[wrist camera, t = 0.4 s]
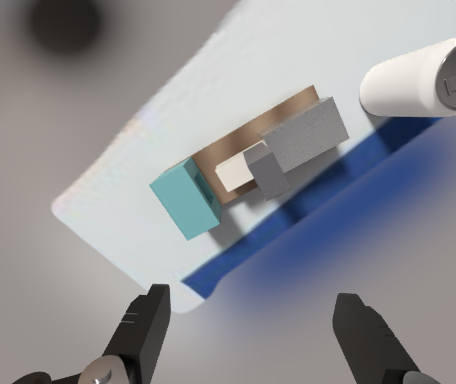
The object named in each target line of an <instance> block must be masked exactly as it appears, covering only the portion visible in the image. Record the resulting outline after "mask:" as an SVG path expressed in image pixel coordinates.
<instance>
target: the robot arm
mask: <svg viewBox="0 0 456 384" xmlns="http://www.w3.org/2000/svg"><path fill="white" fill-rule="evenodd" d="M170 313H171V306H170V288H169V285H168V284H152V286H151V288H150V290H149V292H148V294H147V295H139V296H138V297H137V298H136V299H135V300H134V301H133V302H131V304H130V306H129V307H128V309H127V311H126V314H125V315H124V316H123V318H122V320H121V323H120V324H119V326H118V328H117V329H116V331H115V333H114V335H113V337H112V338H111V340H110V342H109V344H108V346H107V348H106V349H105V351H104V353H103V355H102V356H101V357H100V358H98V359H96V360H94V361H93V362H91V363H90V364H89V365H88V366H87V367H86V368H85V369H84V370H83V372H82V373H79V374H77V375H73V376H70V377H66V378H62V379H58V380H54V381H52V380H51V377H50V376H49V374H47V373H45V372H34V373H30V374H28V375H25V376H23V377H22V378H20V379H18V380H17V381H15V382H14V383H12V384H150V382H151V379H152V376H153V373H154V370H155V366H156V363H157V360H158V357H159V354H160V351H161V347H162V344H163V341H164V338H165V335H166V331H167V328H168V325H169V321H170ZM333 329H334V333H335V335H336V337H337V340H338V342H339V344H340V346H341V349H342V351H343V353H344V356H345V358H346V360H347V362H348V364H349V367H350V369H351V371H352V373H353V376H354V378H355V380H356V383H357V384H440V383H439V382H438V381H436V380H435V379H433V378H432V377H430V376H428V375H426V374H424V373H421V372H420V370H419V369H418V367H417V366H416V364H415V363H414V362H413V360H412V359H411V357H410V356H409V355H408V353H407V352H406V350H405V349H404V348H403V346H402V345H401V343H400V342H399V340H398V339H397V338H396V337H395V335H394V333H393V332H392V331H391V329H390V328H388V325H387V324H386V322H385V321H384V319H383V318H382V316H381V315H380V314H378V313H377V312H376V311H375V310H374V309H372V308H371V307H370V306H365V305H364V303H363V302H362V300H361V299H360V297H359V296H358V295H357V294H348V293H339V294H338V296H337V301H336V305H335V310H334V315H333Z"/></svg>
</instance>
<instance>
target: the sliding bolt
mask: <svg viewBox="0 0 456 384" xmlns="http://www.w3.org/2000/svg"><path fill="white" fill-rule="evenodd" d="M215 172H216V173H217V175H218V177H219V178H220V180H221V182H222V183H223V185H224V187H225V188H226V190H227V192H230V191H232V190H233V189H235V188H237V187H239V186H241V185H243V184H245V183H246V182H248V181H250V180H252V179H255V181H256V183H257V185H258V186H259V188H260V190H261V192H262V194H263V195H264V197H265V199H266V201H268V200H270V199H272V198H274V197H275V196H277V195H279V194H281V193H283V192H285V191H287V190H289V189H291V186H290V184H289V182H288V180H287V178H286V177H285V175H284V173H283V171H282V169H281V167H280V165H279V163H278V161H277V159H276V157H275V155H274V153H273V152H272V151H271V150H270V149H269V148H268V147H267V145H266V143H265V141H264V140H261V141H259V142H258V143H256V144H254V145H252V146H251V147H249V148H247V149H245V150H243V151H242V152H240V153H238V154H236V155H235V156H233V157H231V158H229V159H228V160H226V161H224V162H222V163H221V164H219V165H217V166H216V170H215Z"/></svg>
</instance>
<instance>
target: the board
mask: <svg viewBox="0 0 456 384" xmlns="http://www.w3.org/2000/svg"><path fill="white" fill-rule="evenodd" d="M316 99H319V97H318V95H317V93H316V90H315V88H314V86H313V85H312V86H310V87H308V88H306V89H304V90H303V91H301V92H299V93H298V94H296V95H294V96H292V97H291V98H289V99H287V100H286V101H284V102H282V103H280V104H279V105H277V106H275V107H274V108H272V109H270V110H268V111H267V112H265V113H263V114H262V115H260V116H258V117H256V118H255V119H253V120H251V121H250V122H248V123H246V124H245V125H243V126H241V127H239V128H238V129H236V130H234V131H233V132H231V133H229V134H227V135H226V136H224V137H222V138H221V139H219V140H217V141H215V142H214V143H212V144H210V145H209V146H207V147H205V148H203V149H202V150H200V151H198V152H197V153H195V154H193V155H192V156H190V157H192V159H193V160H194V162H195V163H196V165H197V167H198V168H199V170H200V172H201V173H202V175H203V176H204V178H205V180H206V181H207V183H208V185H209V186H210V188H211V189H212V191H213V193H214V194H215V196H216V197H217V199H218V201H219V202H220V204H221V206H222V205H224V204H226V203H228V202H230V201H231V200H233V199H235V198H237V197H239V196H241V195H243V194H244V193H246V192H248V191H250V190H252V189H254V188H256V187H258V185H257V183H256V181H255V179H252V180H250V181H248V182H246V183H245V184H243V185H241V186H239V187H237V188H235V189H233V190H232V191H230V192H227V190H226V188H225V187H224V185H223V183H222V182H221V180H220V178H219V177H218V175H217V173H216V172H215V170H216V166H217V165H219V164H221V163H222V162H224V161H226V160H228V159H229V158H231V157H233V156H235V155H236V154H238V153H240V152H242V151H243V150H245V149H247V148H249V147H251V146H252V145H254V144H256V143H258V142H259V141H261V139H260V137H259V135H258V132H259V131H261V130H263V129H264V128H266V127H268V126H270V125H271V124H273V123H275V122H277V121H278V120H280V119H282V118H284V117H285V116H287V115H289V114H291V113H292V112H294V111H296V110H298V109H299V108H301V107H303V106H305V105H306V104H308V103H310V102H312V101H313V100H316ZM190 157H188V158H190ZM188 158H186V159H188ZM186 159H185V160H186ZM183 161H184V160H183ZM183 161H181V162H183ZM181 162H180V163H181ZM178 164H179V163H178ZM178 164H176V165H178ZM176 165H174V166H176ZM174 166H173V167H174ZM171 168H172V167H171ZM171 168H169V169H171ZM169 169H168V170H169ZM166 171H167V170H166ZM166 171H165V172H166Z"/></svg>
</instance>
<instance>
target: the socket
mask: <svg viewBox="0 0 456 384" xmlns="http://www.w3.org/2000/svg"><path fill="white" fill-rule="evenodd" d="M149 186H150V187H151V189H152V190H153V192H154V193H155V194H156V196H157V197H158V199H159V200H160V202H161V203H162V205H163V206H164V207H165V209H166V210H167V212H168V213H169V215H170V216H171V218H172V219H173V220H174V222H175V223H176V225H177V226H178V228H179V229H180V230H181V232H182V233H183V235H184V236H185V238H186V239H187V241H188V240H190V239H192V238H194V237H196V236H198V235H200V234H202V233H204V232H206V231H208V230H209V229H211V228H213V227H215V226H217V225H219V224H220V218H221V207H222V206H221V204H220V202H219V201H218V199H217V197H216V196H215V194H214V193H213V191H212V189H211V188H210V186H209V185H208V183H207V181H206V180H205V178H204V176H203V175H202V173H201V172H200V170H199V168H198V167H197V165H196V163H195V162H194V160H193V159H192V157H190V158H188V159H186V160H184V161H183V162H181V163H179V164H178V165H176V166H174V167H172V168H171V169H169V170H167V171H166V172H164V173H162V174H161V175H160V176H159V177H158V178H157V179H156V180H155V181H153V182H152V183H151V184H150V185H149Z"/></svg>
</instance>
